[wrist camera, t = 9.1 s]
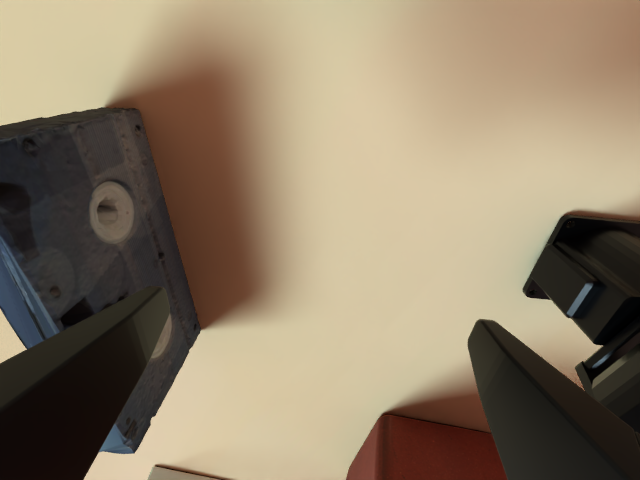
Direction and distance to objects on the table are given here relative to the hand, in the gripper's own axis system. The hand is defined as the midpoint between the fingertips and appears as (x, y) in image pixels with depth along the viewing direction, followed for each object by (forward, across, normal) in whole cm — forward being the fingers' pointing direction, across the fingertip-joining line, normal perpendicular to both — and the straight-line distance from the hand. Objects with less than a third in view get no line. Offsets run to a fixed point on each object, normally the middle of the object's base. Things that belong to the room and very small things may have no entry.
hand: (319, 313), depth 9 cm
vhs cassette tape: (+12, +12, +6) cm, 18 cm away
